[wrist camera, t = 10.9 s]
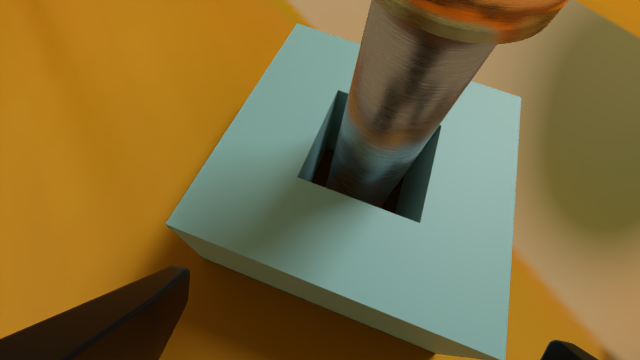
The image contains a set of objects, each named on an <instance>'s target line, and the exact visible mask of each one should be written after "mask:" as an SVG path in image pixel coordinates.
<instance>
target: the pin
mask: <svg viewBox="0 0 640 360" xmlns="http://www.w3.org/2000/svg"><path fill="white" fill-rule="evenodd" d="M567 2H568V0H372V1H371V5H370V9H369V13H368V17H367V21H366V25H365V29H364V34H363V37H362V41H361V45H360V50H359V54H358V58H357V62H356V66H355V70H354V74H353V78H352V82H351V86H350V90H349V94H348V98H347V102H346V107H345V111H344V115H343V119H342V123H341V127H340V131H339V135H338V139H337V143H336V147H335V151H334V155H333V159H332V163H331V168H330V172H329V176H328V180H327V184H326V188H327V189H330V190H333V191H335V192H338V193H341V194H343V195H346V196H349V197H351V198H354V199H357V200H359V201H362V202H365V203H367V204H370V205H373V206H375V207H378V208H381V206H382V205H383V204H384V202H385V201H386V199H387V198H388V197H389V195H390V194H391V192H392V191H393V190H394V188H395V187H396V185H397V184H398V183H399V181H400V180H401V178H402V177H403V176H404V174H405V173H406V171H407V170H408V168H409V167H410V166H411V164H412V163H413V161H414V160H415V159H416V157H417V156H418V154H419V153H420V152H421V150H422V149H423V147H424V146H425V145H426V143H427V142H428V140H429V139H430V138H431V136H432V135H433V133H434V132H435V131H436V129H437V128H438V126H439V125H440V124H441V122H442V121H443V119H444V118H445V116H446V115H447V114H448V112H449V111H450V109H451V108H452V107H453V105H454V104H455V102H456V101H457V100H458V98H459V97H460V95H461V94H462V93H463V91H464V90H465V88H466V87H467V86H468V84H469V83H470V81H471V80H472V79H473V77H474V76H475V74H476V73H477V71H478V70H479V69H480V67H481V66H482V64H483V63H484V62H485V60H486V59H487V57H488V56H489V55H490V53H491V52H492V50H493V49H494V48H495V46H496V45H497V44H504V43H512V42H517V41H521V40H524V39H527V38H530V37H532V36H534V35H536V34H538V33H539V32H540V31H542V30H543V29H544V28H545V27H547V26H548V24H549V23H550V22H551V21H552V20H553V18H554V17H555V16H556V15H557V14H558V12H559V11H560V10H561V9H562V8H563V6H564V5H565V4H566V3H567Z"/></svg>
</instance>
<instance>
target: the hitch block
mask: <svg viewBox="0 0 640 360" xmlns="http://www.w3.org/2000/svg"><path fill="white" fill-rule="evenodd" d="M360 45H361V44H358V43H355V42H352V41H349V40H345V39H343V38H340V37H337V36H334V35H330V34H328V33H324V32H322V31H319V30H315V29H312V28H309V27H306V26H303V25H300V24H296V26H295V27H294V29H293V30H292V32H291V33H290V35H289V36H288V38H287V39H286V41H285V43H284V44H283V46H282V47H281V49H280V50H279V52H278V53H277V55H276V56H275V58H274V59H273V61H272V62H271V64H270V65H269V67H268V68H267V70H266V71H265V73H264V74H263V76H262V77H261V79H260V81H259V82H258V84H257V85H256V87H255V88H254V90H253V91H252V93H251V94H250V96H249V97H248V99H247V100H246V102H245V103H244V105H243V106H242V108H241V109H240V111H239V112H238V114H237V116H236V117H235V119H234V120H233V122H232V123H231V125H230V126H229V128H228V129H227V131H226V132H225V134H224V135H223V137H222V138H221V140H220V141H219V143H218V144H217V146H216V147H215V149H214V151H213V152H212V154H211V155H210V157H209V158H208V160H207V161H206V163H205V164H204V166H203V167H202V169H201V170H200V172H199V173H198V175H197V176H196V178H195V179H194V181H193V182H192V184H191V185H190V187H189V189H188V190H187V192H186V193H185V195H184V196H183V198H182V199H181V201H180V202H179V204H178V205H177V207H176V208H175V210H174V211H173V213H172V214H171V216H170V217H169V219H168V220H167V222H166V225H167V226H168V227H169V228H170V229H171V230H172V231H173V232H175V233H176V234H177V235H178V236H179V237H180V238H181V239H182V240H183V241H184V242H186V243H187V244H188V245H189V246H190V247H191V248H192V249H193V250H194V251H195V252H196V253H198V254H199V255H200V256H201V257H202V258H205V259H207V260H210V261H212V262H214V263H217V264H219V265H222V266H224V267H227V268H229V269H231V270H234V271H236V272H239V273H241V274H244V275H246V276H248V277H251V278H253V279H256V280H258V281H261V282H263V283H266V284H268V285H270V286H273V287H275V288H278V289H280V290H283V291H285V292H287V293H290V294H292V295H295V296H297V297H300V298H302V299H304V300H307V301H309V302H312V303H314V304H317V305H319V306H321V307H324V308H326V309H329V310H331V311H334V312H336V313H338V314H341V315H343V316H346V317H348V318H351V319H353V320H356V321H358V322H360V323H363V324H365V325H368V326H370V327H373V328H375V329H377V330H380V331H382V332H385V333H387V334H390V335H392V336H394V337H397V338H399V339H402V340H404V341H407V342H409V343H411V344H414V345H416V346H419V347H421V348H424V349H426V350H429V351H431V352H433V353H436V354H443V355H451V356H460V357H468V358H477V359H486V360H505V357H506V341H507V324H508V307H509V291H510V274H511V257H512V241H513V224H514V207H515V191H516V174H517V157H518V141H519V124H520V107H521V97H518V96H515V95H512V94H509V93H506V92H503V91H500V90H497V89H494V88H490V87H488V86H485V85H482V84H479V83H475V82H472V81H470V83H469V84H468V86H467V87H466V88H465V90H464V91H463V93H462V94H461V95H460V97H459V98H458V100H457V101H456V102H455V104H454V105H453V107H452V108H451V109H450V111H449V112H448V114H447V115H446V116H445V118H444V119H443V121H442V122H441V124H440V125H439V126H438V128H437V129H436V131H435V132H434V133H433V135H432V136H431V138H430V139H429V140H428V142H427V143H426V145H425V146H424V147H423V149H422V150H421V152H420V153H419V154H418V156H417V157H416V159H415V160H414V161H413V163H412V164H411V166H410V167H409V168H408V170H407V171H406V173H405V174H404V176H403V177H404V180H403V183H402V187H401V191H400V194H399V198H398V202H397V206H396V209H395V213H391V212H389V211H386V210H383V209H381V208H378V207H375V206H373V205H370V204H367V203H365V202H362V201H359V200H357V199H354V198H351V197H349V196H346V195H343V194H341V193H338V192H335V191H333V190H330V189H327V188H325V187H322V186H320V185H317V184H314V183H312V180H313V178H314V175H315V173H316V171H317V168H318V166H319V164H320V162H321V159H322V157H323V155H324V152H325V150H326V149H328V150H331V151H335V147H336V143H337V139H338V135H339V131H340V127H341V123H342V119H343V115H344V111H345V107H346V102H347V98H348V94H349V90H350V86H351V82H352V78H353V74H354V70H355V66H356V62H357V58H358V54H359V50H360Z"/></svg>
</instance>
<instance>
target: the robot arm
mask: <svg viewBox="0 0 640 360" xmlns="http://www.w3.org/2000/svg"><path fill="white" fill-rule="evenodd" d="M189 280H190V272H189V270H188V269H187V268H183V267H178V266H170V267H168V268H165V269H163V270H161V271H158V272H156V273H154V274H151V275H149V276H147V277H144V278H142V279H140V280H137V281H135V282H133V283H130V284H128V285H126V286H123V287H121V288H119V289H116V290H114V291H112V292H109V293H107V294H105V295H102V296H100V297H98V298H95V299H93V300H90V301H88V302H86V303H83V304H81V305H79V306H76V307H74V308H72V309H69V310H67V311H65V312H62V313H60V314H58V315H55V316H53V317H51V318H48V319H46V320H44V321H41V322H39V323H37V324H34V325H32V326H30V327H27V328H25V329H23V330H20V331H18V332H16V333H13V334H11V335H9V336H6V337H4V338H2V339H0V360H159V358H160V356H161V354H162V352H163V350H164V348H165V346H166V344H167V342H168V340H169V338H170V336H171V334H172V332H173V330H174V328H175V326H176V324H177V322H178V321H179V319H180V317H181V315H182V313H183V311H184V309H185V307H186V304H187V301H188V294H189ZM541 360H598V359H596V358H595V357H593V356H592V355H590V354H589V353H587V352H585V351H584V350H582V349H581V348H579V347H578V346H576V345H574V344H572V343H569V342H564V341H559V340H553V341H551V342H550V343H549V344H548V346H547V348H546V350H545V352H544V354H543V356H542V358H541Z"/></svg>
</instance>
